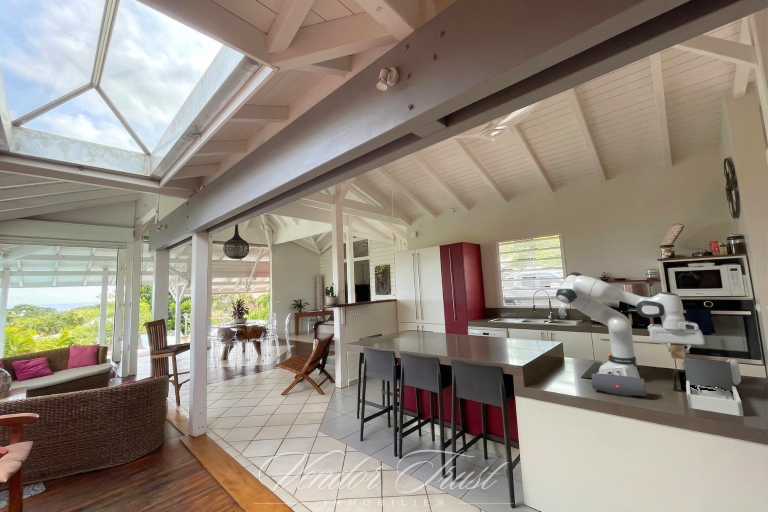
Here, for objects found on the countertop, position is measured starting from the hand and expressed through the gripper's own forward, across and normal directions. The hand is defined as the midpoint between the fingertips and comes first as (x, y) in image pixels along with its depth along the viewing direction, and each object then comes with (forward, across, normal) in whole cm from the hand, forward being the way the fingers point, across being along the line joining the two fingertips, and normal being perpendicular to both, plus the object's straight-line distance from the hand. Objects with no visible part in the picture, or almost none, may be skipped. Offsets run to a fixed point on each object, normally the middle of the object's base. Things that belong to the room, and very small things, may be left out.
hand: (678, 352), depth 156 cm
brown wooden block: (+2, 0, 0) cm, 2 cm away
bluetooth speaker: (+23, -26, -8) cm, 36 cm away
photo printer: (+24, +18, +39) cm, 50 cm away
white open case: (+23, +9, +11) cm, 27 cm away
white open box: (+23, +9, +1) cm, 25 cm away
